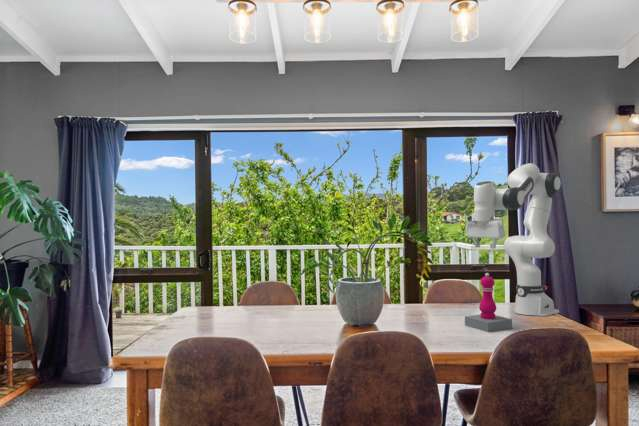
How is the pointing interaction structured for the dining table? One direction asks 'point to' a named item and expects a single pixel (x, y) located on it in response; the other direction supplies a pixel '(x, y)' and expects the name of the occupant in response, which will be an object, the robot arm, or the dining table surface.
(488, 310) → the pepper mill
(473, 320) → the riser
